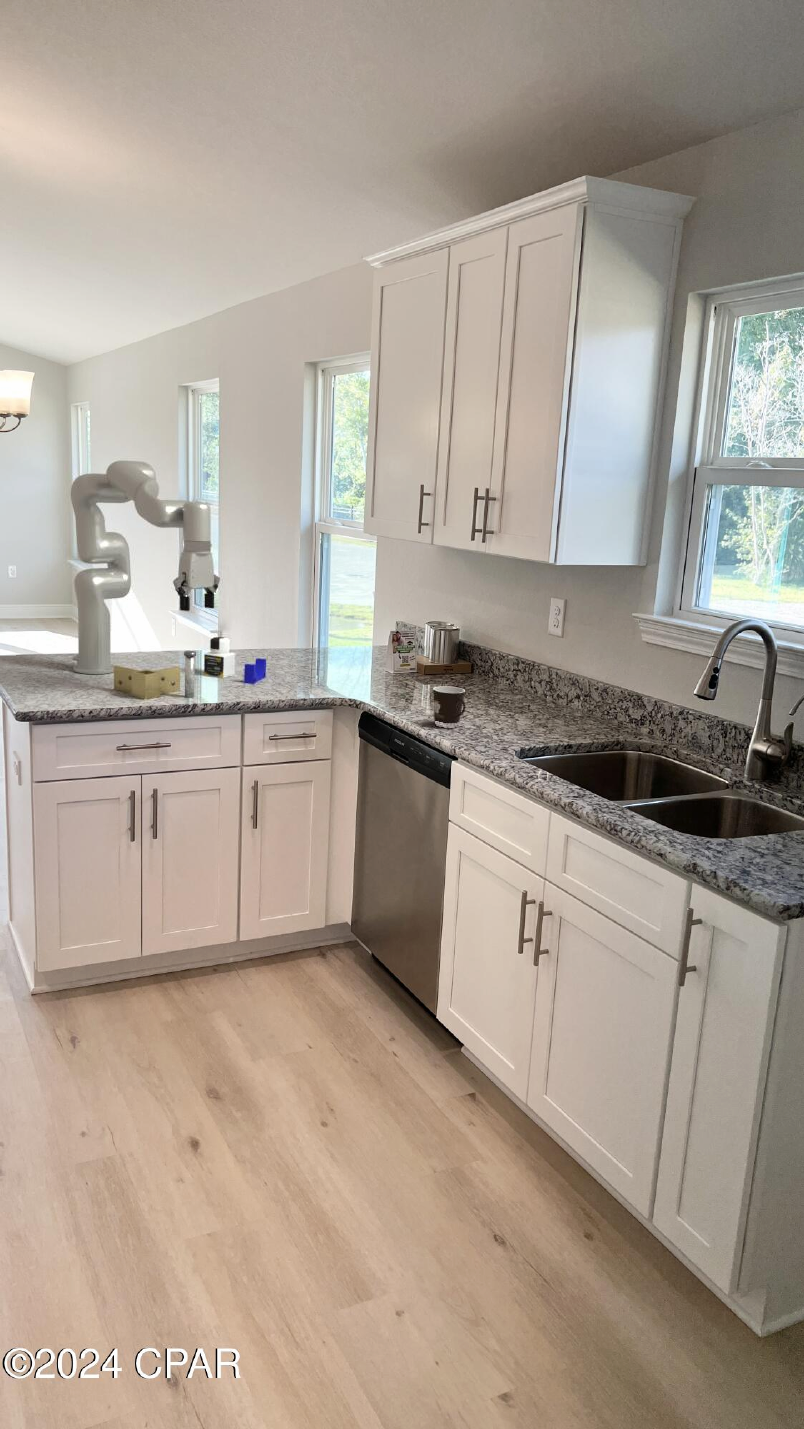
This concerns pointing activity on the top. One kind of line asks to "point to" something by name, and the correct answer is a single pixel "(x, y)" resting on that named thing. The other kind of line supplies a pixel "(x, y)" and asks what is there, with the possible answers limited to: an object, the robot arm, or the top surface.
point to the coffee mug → (448, 704)
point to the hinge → (146, 681)
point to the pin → (189, 673)
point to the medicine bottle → (219, 659)
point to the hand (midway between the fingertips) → (197, 609)
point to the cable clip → (255, 671)
